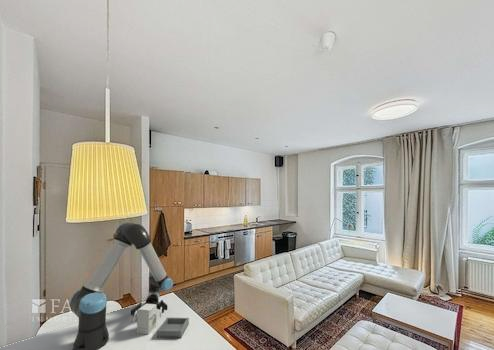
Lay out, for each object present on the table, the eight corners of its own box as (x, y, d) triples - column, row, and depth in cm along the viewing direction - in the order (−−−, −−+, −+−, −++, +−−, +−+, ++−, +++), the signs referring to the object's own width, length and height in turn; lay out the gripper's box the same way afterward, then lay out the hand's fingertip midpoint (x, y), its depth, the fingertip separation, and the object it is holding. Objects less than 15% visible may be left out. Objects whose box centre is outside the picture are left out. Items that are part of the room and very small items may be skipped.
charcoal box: (157, 337, 118) (157, 330, 119) (167, 323, 131) (167, 317, 132) (180, 338, 118) (180, 331, 118) (188, 324, 131) (188, 317, 131)
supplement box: (148, 334, 121) (149, 310, 122) (136, 333, 123) (137, 309, 124) (156, 326, 128) (157, 304, 129) (145, 325, 130) (145, 303, 131)
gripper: (172, 303, 148) (170, 320, 128) (131, 308, 141) (122, 327, 121) (172, 291, 149) (170, 306, 129) (131, 296, 142) (123, 313, 122)
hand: (147, 316), depth 125 cm, fingers open, 13 cm apart
